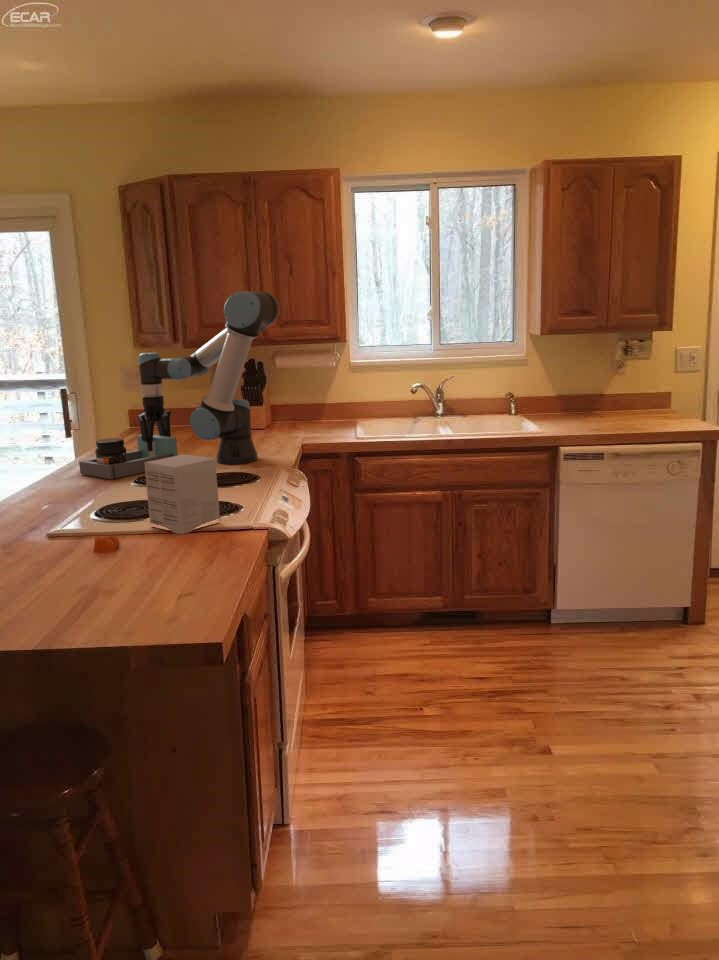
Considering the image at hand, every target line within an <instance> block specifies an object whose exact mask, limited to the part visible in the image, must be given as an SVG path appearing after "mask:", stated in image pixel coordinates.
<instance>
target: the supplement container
mask: <svg viewBox="0 0 719 960" xmlns="http://www.w3.org/2000/svg"><path fill="white" fill-rule="evenodd" d="M95 447H96V448H95V450H94V454H95V458H96V462H97V463H103V464H109V465H112V464H117V463H122V462H127V454H126V452H127V448H126V447H125V439H124V438H122V437H109V438H101V439H97V440H96V441H95Z"/></svg>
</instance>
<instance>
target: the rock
mask: <svg viewBox="0 0 719 960" xmlns="http://www.w3.org/2000/svg"><path fill="white" fill-rule="evenodd" d="M119 546H120V540H119V537H118V536H117V535H110V536H107V537H101V536H100V535H99V536H98V535H95V537H94V545H93V549H92V550H93V553H95V552H100V553H99V554H108V553H109V552H110V553H114V552H115V551H116V549H117V548H118V547H119ZM110 553H109V554H110Z"/></svg>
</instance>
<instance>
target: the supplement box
mask: <svg viewBox="0 0 719 960" xmlns="http://www.w3.org/2000/svg"><path fill="white" fill-rule="evenodd" d="M144 464H145V472H144V474H145V483H146V495H147V505H148V516H149V524H150V523H153V524H156V525H160V526H163V527H166V528H168V529H170V530H171V531H172V532H173V533H172V532H171V533H172V534H177V535H184V534H187V533H191V532H193V531H192V529H194V528H196V527H198V526H200V525H202V524H205V523H207V522H210V521H213V520H216V519H219V518H220V519H221V515H220V514H221V513H220V503H219V502H220V501H219V490H218V479H217V478H218V477H217V476H218V475H217V467H216V464H217V462H216V459H215V458H212V457H207V456H199V455H193V454H192V455H191V454H186V453H185V454H178V456H173V457H169V458H164V459H159V460H154V461H149V462H144Z"/></svg>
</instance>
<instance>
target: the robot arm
mask: <svg viewBox="0 0 719 960" xmlns="http://www.w3.org/2000/svg"><path fill="white" fill-rule="evenodd" d="M223 315H224V316H225V317H224V319H225V328H224V329H222V331H220V332H219V333H217V334H216V335H215V336H214V337H212V338H211V339H210V340H208V342H206V343H205V344H203V345H202V346H201V347H199V348H198V349H197V350H196V351H194V352H193V353H192V354H190V355H188V356H181V357H172V358H171V357H170V358H169V357H167V358H161V355H160V353H159V352H142V353H140V354H139V355H138V368H139V369H138V370H139V376H140V388H141V395H142V399H141V400H142V406H143V408H144V409H143V413H141V414H137V419H138V422H139V426H140V435H141V437H142V441H145V442H147V448H148V451H149V454H150V457H152V456H156V452H155V442H153V435H154V429H155V425H156V428H157V431H158V436H167V437H172V435H171V434H172V433H171V413H172V412H171V410H166V409H165V407H164V405H165V401H164V395H163V394H164V387H163V380H175V381H179V380H186V379H188V378H192V377H202V376H203V375H206V374H207V373H208V372H209V371H210V368H211V367H212V366H213V365H214V364H216V363H217V362H218V363H217V365H216V369H215V372H214V375H213V378H212V381H211V385H210V388H209V390H208V391H209V392H208V393H207V395H204V396H203V397H202V398H201V402H200V405H199V407H197V408H195V409H194V410H193V411H192V412H191V415H190V418H189V423H190V427H191V429H192V431H193V433H194V434H195V436H196V437H198V438H199V439H200V440H204V441H210V440H211V441H212V440H213V441H214V440H217V439H219V444H218V450H217V453H216V463H218V464H222V465H224V464H225V465H239V464H247V463H248V464H249V463H253V462H256V461H257V460H258V452H257V450H256V447H255V445H254V441H253V438H252V437H253V436H252V423H251V408H250V402H249V400H247V399H235V395H236V390H237V388H238V386H239V382H240V380H241V376H242V372H243V370H244V368H245V367H244V366H245V363H246V360H247V357H248V355H249V352H250V348H251V345H252V342H253V340H254V339H256V338H259V335H260V333H262V332H264V331H265V330H266V329H267V328H269V327H271V326H272V325H273V324H274V323H275V322H276V321H277V320H278V318H279V315H280V303H279V302H278V300H277V298H276V297H275V296H274V295H273V294H272V293H270V292H268V291H263V290H261V291H250V290H242V291H237V292H235V293H232V294H231V295H230V296H229V297H228V298H227V300H226V302H225V303H224V307H223Z"/></svg>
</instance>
